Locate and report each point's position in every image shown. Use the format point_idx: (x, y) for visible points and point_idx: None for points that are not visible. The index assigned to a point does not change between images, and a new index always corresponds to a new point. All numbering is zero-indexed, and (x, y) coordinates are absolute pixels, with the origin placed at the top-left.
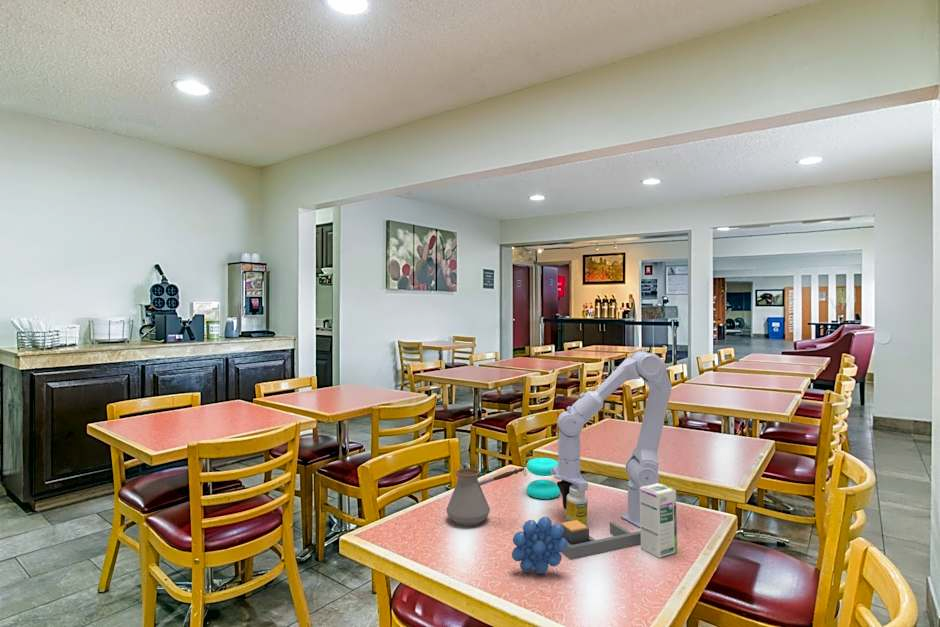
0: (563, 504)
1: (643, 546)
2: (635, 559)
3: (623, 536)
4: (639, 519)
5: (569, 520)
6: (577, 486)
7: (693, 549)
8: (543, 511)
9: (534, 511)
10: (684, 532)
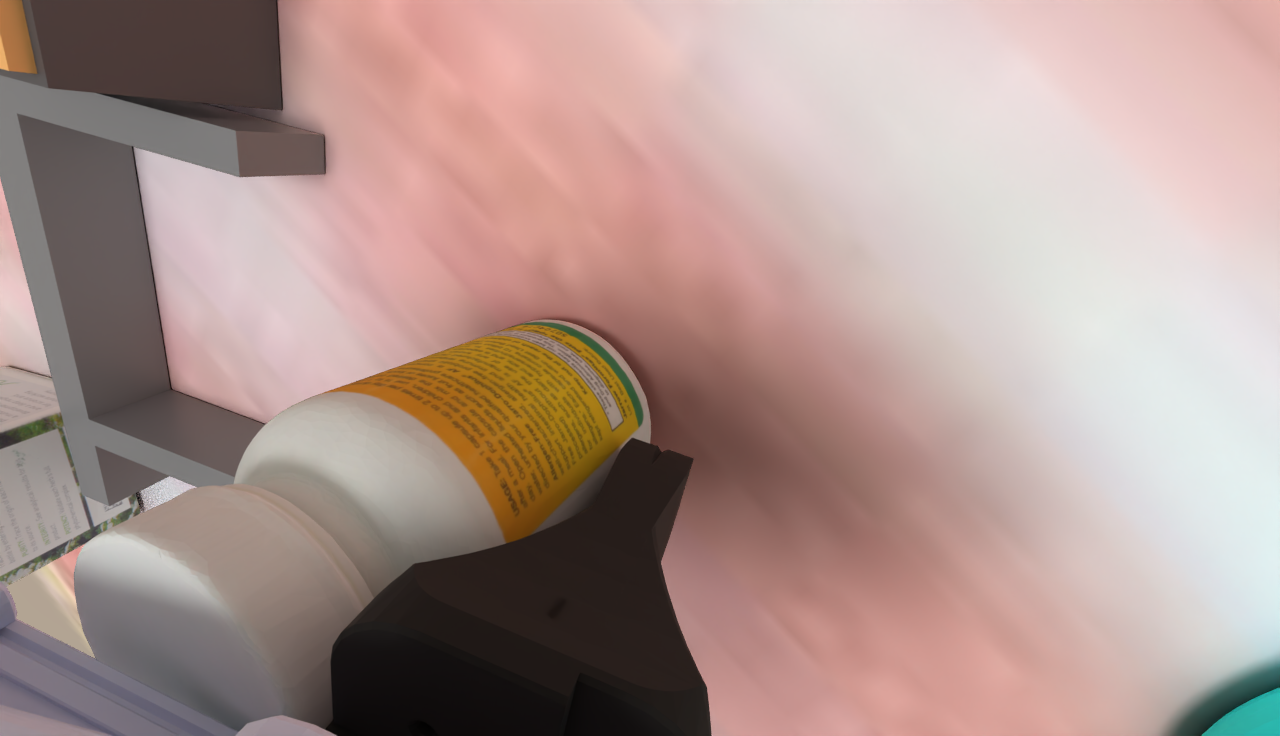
0: (667, 471)
1: None
2: (6, 249)
3: (50, 353)
4: None
5: (528, 327)
6: (114, 688)
7: (71, 561)
8: (1028, 408)
9: (1134, 327)
10: None
